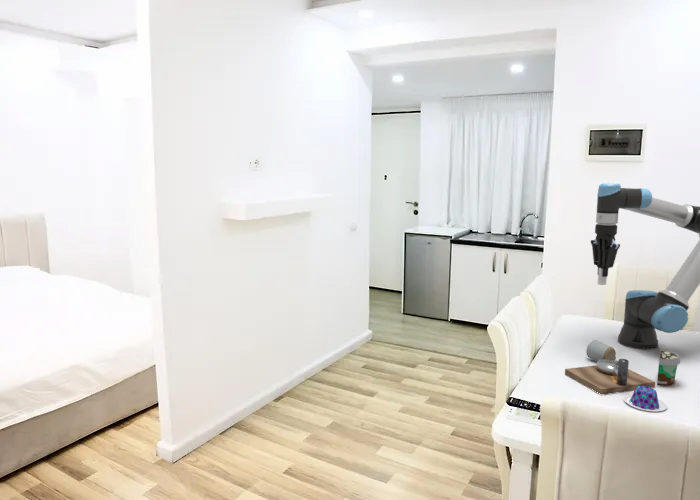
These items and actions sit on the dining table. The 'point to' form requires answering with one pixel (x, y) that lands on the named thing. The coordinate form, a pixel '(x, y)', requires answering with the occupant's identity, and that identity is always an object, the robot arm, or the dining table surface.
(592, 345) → the ceramic mug
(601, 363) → the steel serving spoon
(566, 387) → the dining table surface
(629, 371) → the wooden cutting board
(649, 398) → the pudding
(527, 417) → the dining table surface
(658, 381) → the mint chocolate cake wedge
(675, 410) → the dining table surface
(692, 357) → the dining table surface
